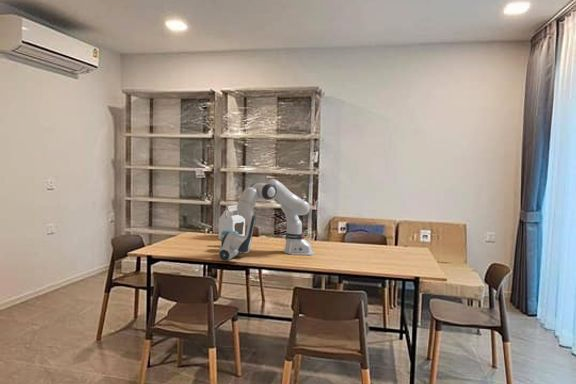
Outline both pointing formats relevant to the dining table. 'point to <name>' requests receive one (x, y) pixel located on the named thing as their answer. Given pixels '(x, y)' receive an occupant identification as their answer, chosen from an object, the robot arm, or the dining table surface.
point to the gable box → (231, 222)
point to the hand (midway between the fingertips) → (238, 246)
